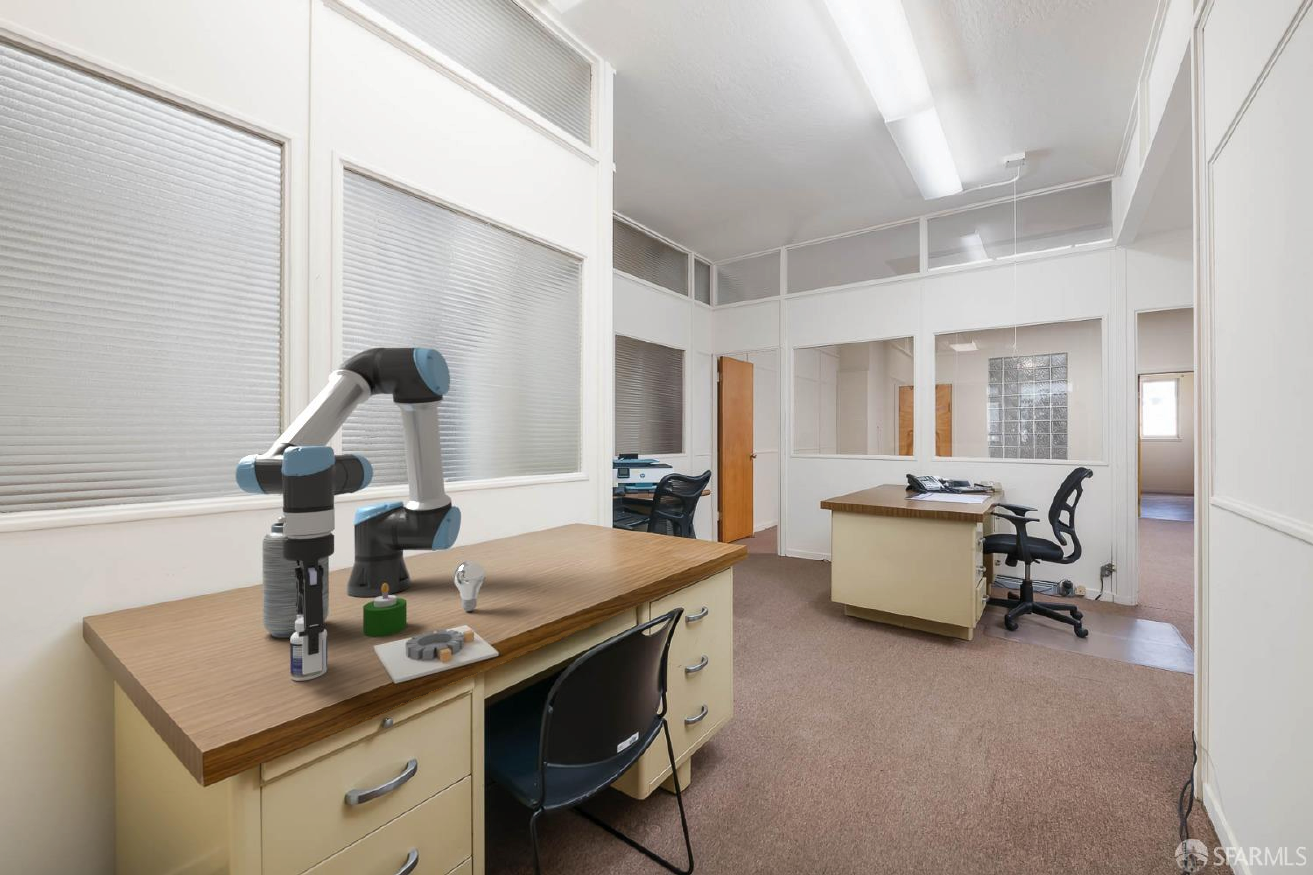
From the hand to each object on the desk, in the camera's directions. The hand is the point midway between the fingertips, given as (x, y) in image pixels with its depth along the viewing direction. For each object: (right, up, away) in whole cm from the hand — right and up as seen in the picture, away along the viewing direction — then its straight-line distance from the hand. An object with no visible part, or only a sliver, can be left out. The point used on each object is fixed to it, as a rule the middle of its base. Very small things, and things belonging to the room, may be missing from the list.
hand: (309, 660), depth 91 cm
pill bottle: (0, -3, 0) cm, 3 cm away
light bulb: (+16, -3, +32) cm, 36 cm away
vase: (-16, -2, +20) cm, 26 cm away
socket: (+18, -2, +9) cm, 21 cm away
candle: (+2, -3, +21) cm, 21 cm away
